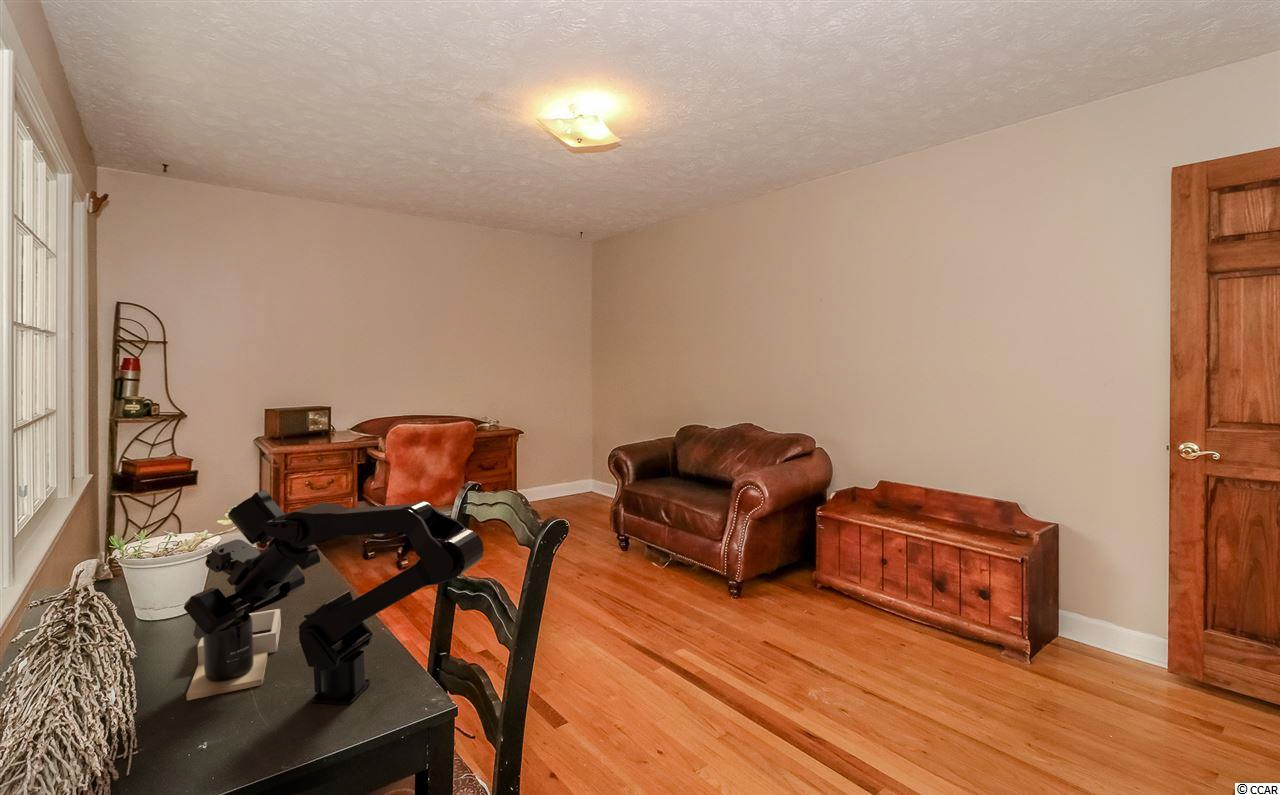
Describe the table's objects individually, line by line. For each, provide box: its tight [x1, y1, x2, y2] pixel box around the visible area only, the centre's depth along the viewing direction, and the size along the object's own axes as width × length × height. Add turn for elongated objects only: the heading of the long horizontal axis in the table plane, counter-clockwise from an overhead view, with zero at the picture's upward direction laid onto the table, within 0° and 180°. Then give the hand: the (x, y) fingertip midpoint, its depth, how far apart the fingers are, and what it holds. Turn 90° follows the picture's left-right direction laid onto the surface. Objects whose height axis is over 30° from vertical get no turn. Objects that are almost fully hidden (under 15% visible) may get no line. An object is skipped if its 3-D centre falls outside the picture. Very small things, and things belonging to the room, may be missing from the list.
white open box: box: [197, 608, 282, 666], centre depth 114 cm, size 12×12×4 cm
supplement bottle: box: [203, 603, 254, 681], centre depth 102 cm, size 7×7×12 cm
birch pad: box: [186, 652, 268, 701], centre depth 102 cm, size 10×10×1 cm
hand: (221, 624), depth 102 cm, fingers open, 9 cm apart
